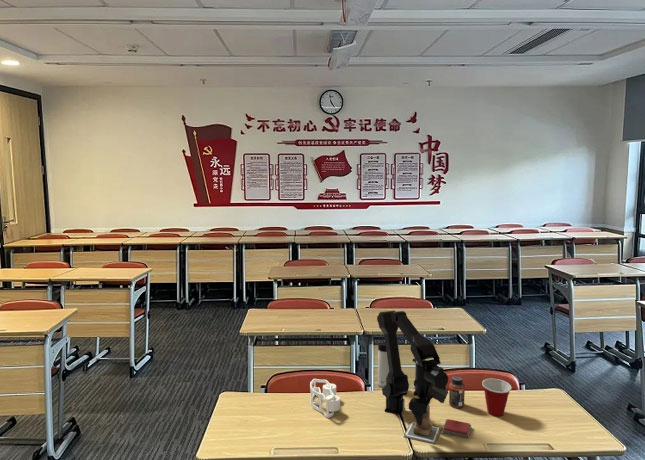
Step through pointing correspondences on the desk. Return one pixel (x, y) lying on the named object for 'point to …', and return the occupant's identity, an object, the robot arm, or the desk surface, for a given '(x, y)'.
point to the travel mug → (382, 365)
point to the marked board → (430, 439)
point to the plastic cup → (496, 395)
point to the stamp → (424, 425)
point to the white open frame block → (325, 397)
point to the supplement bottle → (456, 393)
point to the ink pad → (457, 428)
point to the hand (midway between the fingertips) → (422, 419)
